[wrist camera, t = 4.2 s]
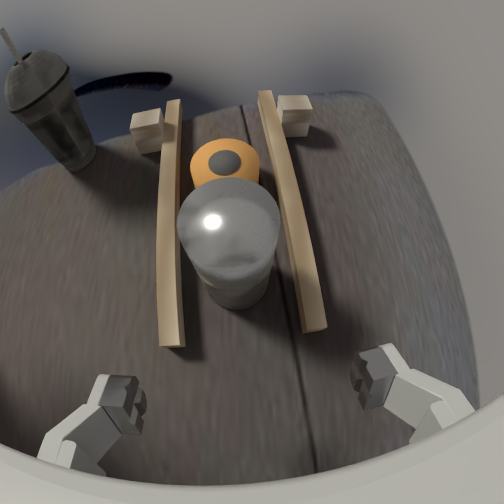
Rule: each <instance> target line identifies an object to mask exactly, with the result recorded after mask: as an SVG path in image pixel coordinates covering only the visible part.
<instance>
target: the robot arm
mask: <svg viewBox="0 0 504 504" xmlns="http://www.w3.org/2000/svg"><path fill="white" fill-rule="evenodd" d="M353 361H354V363H355V364H354V365H353V366H352V367H351V371H350V379H351V383H352V386H353V389H354V390H355V391H357V392H359V396H358V400H359V402H360V404H361V406H362V408H363V410H364V411H365V410H369V409H372V408H376V407H380V406H383V405H384V407H385V408H386V409H388V410H389V411H391V412H392V413H394V414H395V415H396V416H398V417H399V418H401V419H402V420H404V421H405V422H407V423H408V424H410V425H411V426H412V427H414V428H415V429H416V430H415V432H414V433H413V435H412V436H411V438H410V440H409V442H410V444H409V445H407V446H404V447H402V448H399V449H397V450H394V451H391V452H389V453H386V454H383V455H380V456H377V457H374V458H371V459H368V460H365V461H362V462H359V463H355V464H352V465H348V466H345V467H341V468H337V469H333V470H329V471H325V472H321V473H316V474H311V475H306V476H301V477H295V478H290V479H283V480H276V481H269V482H260V483H250V484H237V485H212V486H192V485H168V484H155V483H145V482H137V481H129V480H123V479H116V478H111V477H106V472H105V471H104V470H103V469H102V468H101V467H100V466H98V465H97V463H98V462H99V460H100V459H101V458H102V457H103V456H104V455H105V454H106V452H107V451H108V450H109V449H110V448H111V447H112V445H113V444H114V443H115V442H116V441H117V440H118V439H119V437H120V436H121V435H122V434H137V435H141V433H142V428H143V423H144V421H143V419H142V417H141V416H142V415H143V414H144V413H145V412H146V408H147V401H146V396H145V393H144V391H143V390H142V389H141V388H139V387H138V385H139V381H138V379H137V377H136V376H125V375H105V374H100V375H99V376H98V377H97V379H96V382H95V384H94V387H93V389H92V392H91V394H90V397H89V399H88V402H87V404H83V405H82V406H81V407H79V408H78V409H77V410H75V411H74V412H73V413H72V414H70V415H69V416H68V417H67V418H65V419H64V420H63V421H62V422H60V423H59V424H58V425H56V426H55V427H54V428H53V429H51V430H50V431H49V432H47V433H46V434H45V437H44V440H43V442H42V445H41V447H40V450H39V453H38V456H37V458H35V457H33V456H30V455H27V454H25V453H22V452H19V451H17V450H15V449H12V448H10V447H8V446H5V445H3V444H1V443H0V504H504V393H502V394H501V395H500V396H498V397H497V398H495V399H494V400H492V401H491V402H489V403H488V404H486V405H484V406H483V407H481V408H480V409H478V410H476V411H475V410H474V409H473V407H472V406H471V405H470V403H469V402H468V400H467V399H466V398H465V396H464V395H463V393H462V392H461V391H460V390H459V389H457V388H455V387H452V386H450V385H448V384H446V383H444V382H441V381H439V380H437V379H435V378H433V377H430V376H428V375H426V374H424V373H422V372H420V371H417V370H415V369H411V370H410V368H409V367H408V365H407V364H406V362H405V361H404V360H403V358H402V357H401V355H400V354H399V352H398V351H397V350H396V348H395V347H394V345H393V344H391V343H388V344H385V345H381V346H377V347H373V348H369V349H365V350H361V351H357V352H355V353H354V356H353Z"/></svg>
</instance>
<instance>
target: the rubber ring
mask: <svg viewBox="0 0 504 504" xmlns="http://www.w3.org/2000/svg"><path fill="white" fill-rule="evenodd" d="M259 165H260V162H259V157H258V154H257V153H256V151H255V150H254V149H253V148H252V147H251V146H250V145H248V144H247V143H245V142H243V141H240V140H236V139H218V140H214V141H212V142H209V143H207V144H205V145H204V146H202V147H201V148H200V149H198V150H197V152H196V153H195V154H194V156H193V157H192V160H191V163H190V171H191V175H192V178H193V182H194V185H195V189H196V188H197V187H199V186H200V185H202V184H204V183H206V182H208V181H211V180H214V179H218V178H223V177H238V178H243V179H247V180H250V181H253V182H255V183H257V184H259Z"/></svg>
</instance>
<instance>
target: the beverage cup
mask: <svg viewBox="0 0 504 504" xmlns="http://www.w3.org/2000/svg"><path fill="white" fill-rule="evenodd" d="M0 34H1V35H2V37H3V39H4V40H5V42H6V44H7V46H8V47H9V49H10V51H11V52H12V54H13V56H14V57H15V59H16V61H17V62H16V63H15V64H14V65H13V67H12V68H11V70H10V72H9V74H8V76H7V79H6V82H5V99H6V102H7V105H8V107H9V111H10V113H12V114H14V116H15V117H16V118H17V119H18V120H20V121H21V122H22V123H24V124H25V125H26V126H27V127H28V128H29V130H30V131H31V132H32V133H33V134H34V135H35V136H36V137H37V139H38V140H39V141H40V142H41V143H42V144H43V145H44V146H45V148H46V149H47V150H48V151H49V152H50V153H51V154H52V155H53V156H54V157H55V158H56V159H57V160H58V162H59V163H61V164H62V165H63V166H64V167H65V168H66V169H67V170H68V171H72V172H74V171H78V170H80V169H82V168H84V167H85V166H86V165H88V164H89V163H90V162H91V161H92V159H93V158H94V156H95V153H96V146H95V144H94V142H93V138H92V135H91V133H90V131H89V128H88V126H87V123H86V121H85V118H84V116H83V114H82V111H81V108H80V106H79V103H78V101H77V98H76V95H75V93H74V90H73V87H72V80H71V75H70V72H69V66H68V65H67V64H66V63H65V61H63V59H62V58H61V57H60V56H59V55H58V54H57V53H55V52H53V51H50V50H35V51H32V52H29V53H27V54H26V55H24V56H23V57H21V56H20V55H19V53H18V51H17V50H16V48H15V46H14V45H13V43H12V41H11V39H10V38H9V36H8V34H7V32H6V31H5V29H4V27H3V28H1V29H0Z"/></svg>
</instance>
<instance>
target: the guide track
mask: <svg viewBox="0 0 504 504" xmlns="http://www.w3.org/2000/svg"><path fill="white" fill-rule="evenodd" d="M258 106H259V111H260V115H261V119H262V124H263V128H264V133H265V137H266V142H267V146H268V151H269V155H270V160H271V165H272V170H273V174H274V179H275V184H276V189H277V194H278V199H279V204H280V209H281V214H282V219H283V225H284V230H285V235H286V241H287V246H288V251H289V257H290V263H291V268H292V274H293V280H294V286H295V291H296V297H297V304H298V310H299V316H300V322H301V329H302V334H303V333H309V332H315V331H321V330H323V329H325V328H327V322H326V316H325V310H324V305H323V299H322V294H321V289H320V284H319V278H318V273H317V268H316V264H315V259H314V254H313V249H312V245H311V240H310V235H309V231H308V226H307V222H306V218H305V213H304V209H303V205H302V201H301V197H300V192H299V188H298V184H297V180H296V177H295V173H294V169H293V165H292V161H291V157H290V154H289V150H288V146H287V143H286V139H285V137H307V134H308V129H309V125H310V120H311V115H312V111H313V109H312V106H311V104H310V102H309V99H308V97H307V95H290V96H288V95H287V96H279V97H278V106H277V108H276V104H275V101H274V98H273V95H272V92H271V90H265V91H258ZM182 113H183V111H182V107H181V103H180V99H178V100H173V101H167V106H166V114H165V122H164V118H163V115H162V112H161V109H160V108H159V109H154V110H150V111H144V112H140V113H135V114H133V116H132V121H131V125H130V131H131V134H132V136H133V138H134V141H135V143H136V145H137V147H138V150H139V152H140V154H146V153H151V152H157V151H161V162H160V175H159V190H158V210H157V308H158V328H159V343H160V346H161V347H166V348H174V347H186V343H185V331H184V318H183V303H182V285H181V261H180V239H179V236H178V231H177V218H178V214H179V211H180V154H181V131H182Z"/></svg>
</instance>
